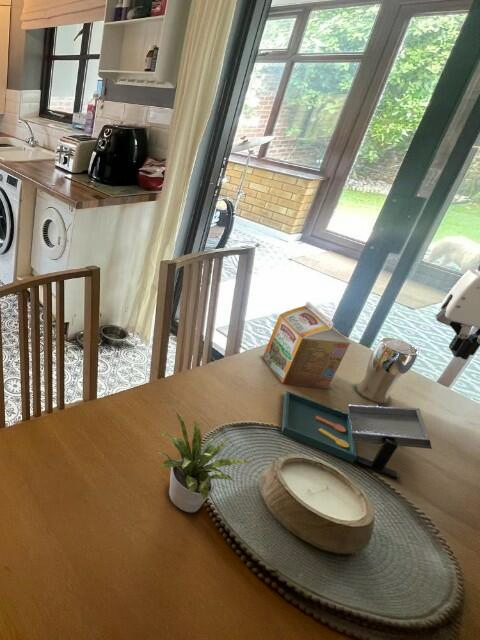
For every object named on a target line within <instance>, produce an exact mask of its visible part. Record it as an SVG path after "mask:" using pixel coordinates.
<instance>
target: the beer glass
mask: <svg viewBox="0 0 480 640" xmlns="http://www.w3.org/2000/svg"><path fill="white" fill-rule="evenodd" d="M419 354H420V350H419V349H418V348H417V347H415V346H414V345H412V344H411V343H408V342H406V341H404V340H401V339H398V338H394V337H382V338H380V340H379V342H378V343H377V344H376V346H375V348H374V349H373V351H372V353H371V355H370V357H369V360H368V364H367V367H366V372H365V375H364V377H363V379H362V380H361V381H360V383H358V384H357V386H356V391H357V392H358V394H359V395H361V396H362V397H364V398H366V399H368V400H369V401H372V402H375V403H378V402H379V403H382V404H386V403H388V402H390V398H391V394H392V391H393V390H394V389H395V387H396V386H397V385H398V384H400V383H401V381H402V380H403V379H404V378H405V377H406V376H407V375H408V374H409V373H410V371H411V370H412V369H413V366H414V365H415V363H416V360H417V357H418V355H419Z"/></svg>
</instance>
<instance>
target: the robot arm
mask: <svg viewBox="0 0 480 640" xmlns="http://www.w3.org/2000/svg"><path fill="white" fill-rule="evenodd" d="M439 307H440V311H439V312H438V313H437V314H436V315H435V316H434V318H435V320H436V321H437V322H438V323H441V324H444V325H445V326H448V327H450V328H451V329H452V331H454V333H455V335H454V337H453V339H452V340H451V341H450V343H449V345H448V349H449V350H450V352H451V353H452V356H453V357H455V358H461V359H462V360H465V361H466V360H468V358H469V357H470V356H474V355H475V354H476V352H477V351H478V350H479V347H480V264H478V267H477V268H468V270H466V272H465V273H464V274H463V275H462V276H461V277H460V278H459V279H458V280H457V282H456V283H455V284H454V285H453V286H452V288H451V289H450V290H449V292H448V293H447V295H446V296H445V297H444V298H443V300H442V302H441V304H440V306H439ZM473 327H475V328H476V330H474V332H473V333H471V331H472V328H473Z"/></svg>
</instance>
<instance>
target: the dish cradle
mask: <svg viewBox="0 0 480 640" xmlns="http://www.w3.org/2000/svg"><path fill="white" fill-rule="evenodd" d="M376 406H383V407H389V405H387V404H386V403H379V402H377V403H376ZM398 447H399V446H398V444H397V442H394V441H391V440H389V439H386V440H385V442H384V443H383V444H381V447H380V448H379V450H378V451H377V453H376V455H375V456H374V458H373V460H370V459H367V458H365V457H362V456H360V455H357V457H356V459H355V463H356V465H358V466H361V467H362V468H365V469H368V470H371V471H372V472H375V473H377V474H380V475H382V476H385V477H387V478H389V479H392V480H395V481H397V480H398V478H399V476H398V472H397V470H395V469H392V468H390V467H387V466H386V465H387V464H388V462H389V460H390V459H391V457H392V456H393V454H394V453H395V451H396V450H397V448H398Z"/></svg>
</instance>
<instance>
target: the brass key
mask: <svg viewBox="0 0 480 640" xmlns="http://www.w3.org/2000/svg"><path fill="white" fill-rule="evenodd" d="M318 431H319V432H320V433H322V434H324V435H325V436H327V437H328V438H330V439H332V440H333V441H335V442H336V443H337V445H339V446H340V447H342V448H349V444H348V443H347V442H346V441H344V440H342V439H338V438H337V437H335V436H333V435H332V434H330V433H328V432H327V431H325V430H323V429H322V428H320V429H319V430H318Z"/></svg>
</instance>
